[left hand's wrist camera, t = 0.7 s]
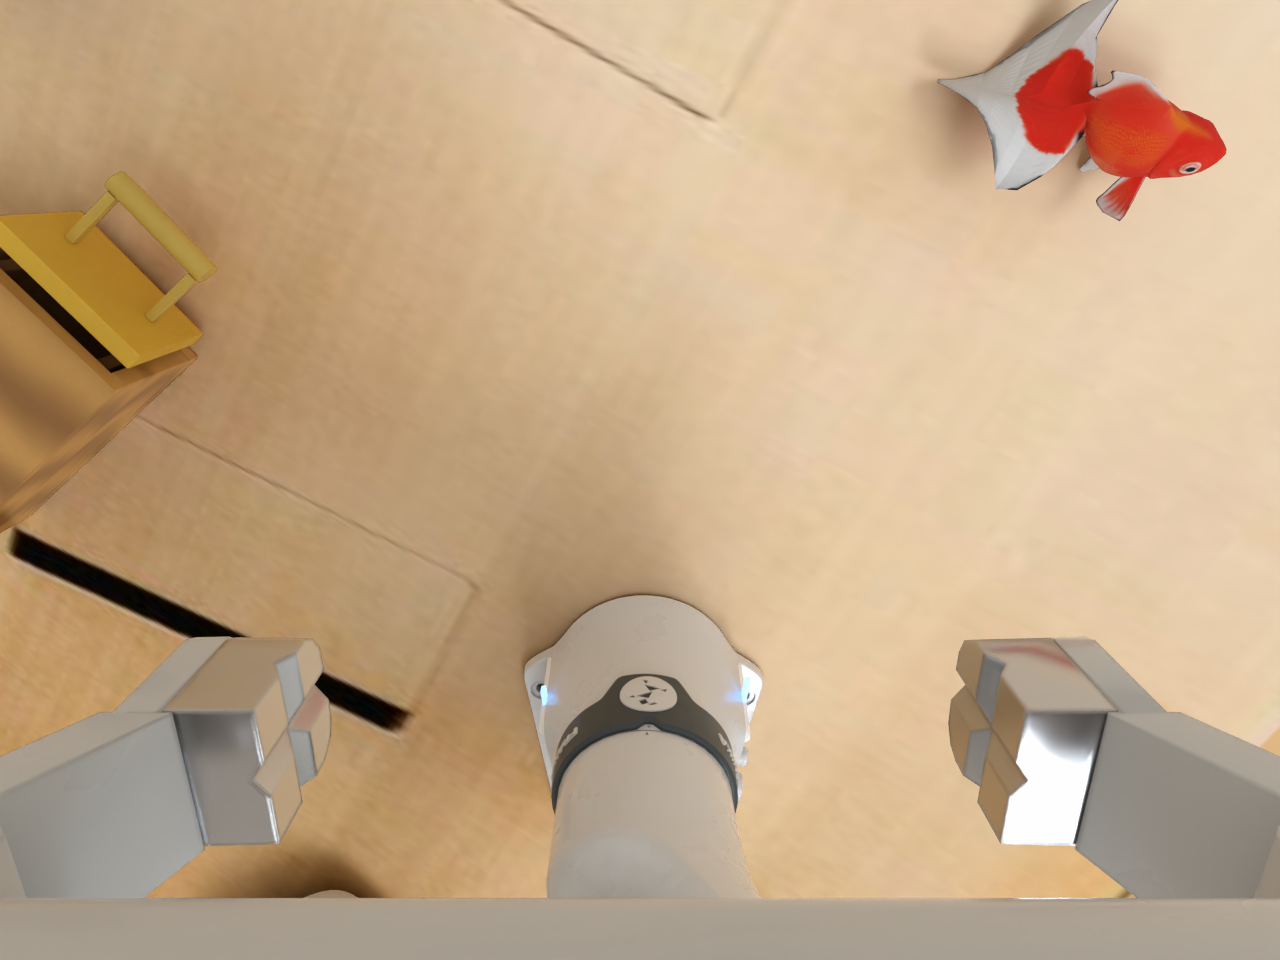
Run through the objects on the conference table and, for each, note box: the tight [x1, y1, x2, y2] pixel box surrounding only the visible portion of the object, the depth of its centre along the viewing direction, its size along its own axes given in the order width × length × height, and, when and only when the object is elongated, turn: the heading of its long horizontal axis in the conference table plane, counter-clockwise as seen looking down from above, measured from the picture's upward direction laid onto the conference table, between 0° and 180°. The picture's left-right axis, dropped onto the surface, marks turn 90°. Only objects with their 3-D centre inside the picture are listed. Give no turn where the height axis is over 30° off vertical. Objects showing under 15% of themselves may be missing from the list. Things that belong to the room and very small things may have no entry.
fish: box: [937, 0, 1226, 221], centre depth 47 cm, size 11×16×10 cm
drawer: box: [0, 172, 217, 373], centre depth 50 cm, size 23×10×7 cm, turn 129°
